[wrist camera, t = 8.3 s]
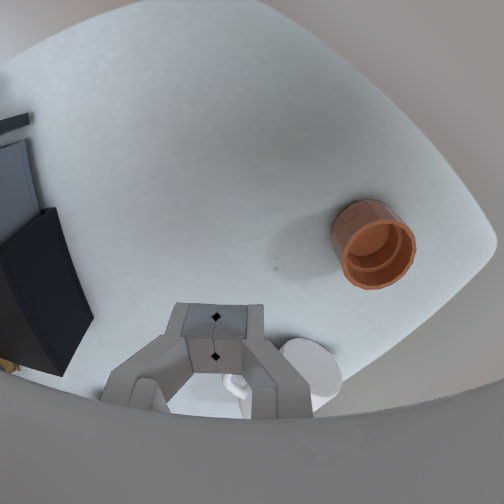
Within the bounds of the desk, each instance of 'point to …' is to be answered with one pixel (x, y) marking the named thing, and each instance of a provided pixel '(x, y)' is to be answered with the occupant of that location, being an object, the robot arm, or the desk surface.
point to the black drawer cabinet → (41, 298)
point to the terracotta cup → (372, 244)
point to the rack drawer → (15, 184)
